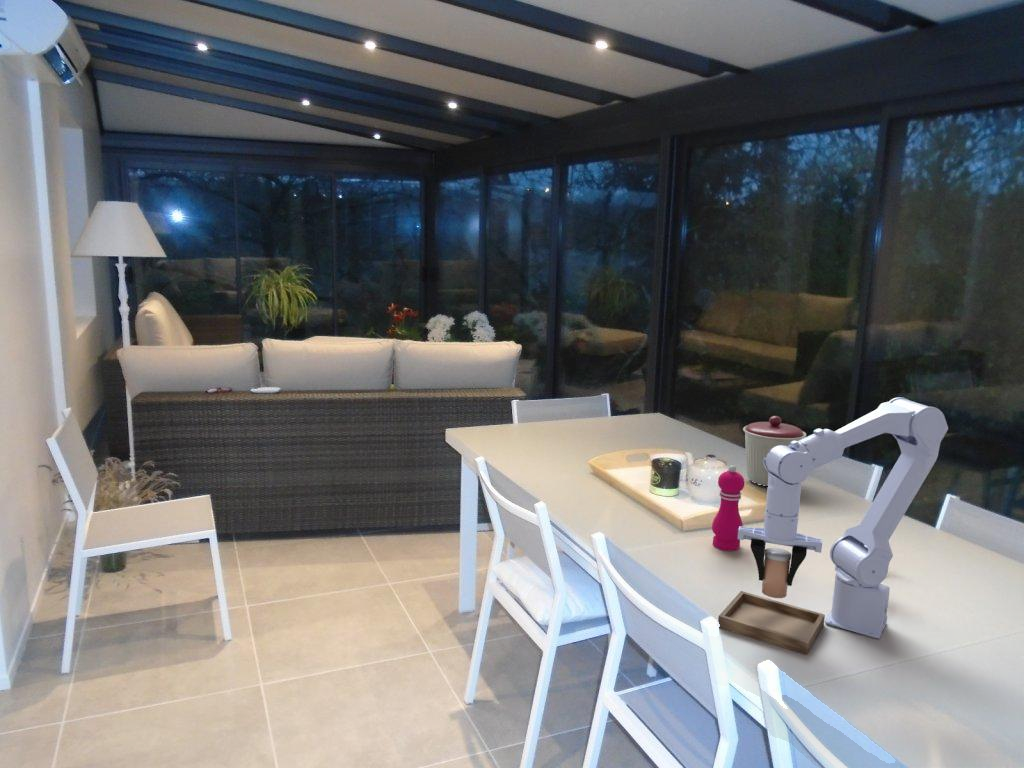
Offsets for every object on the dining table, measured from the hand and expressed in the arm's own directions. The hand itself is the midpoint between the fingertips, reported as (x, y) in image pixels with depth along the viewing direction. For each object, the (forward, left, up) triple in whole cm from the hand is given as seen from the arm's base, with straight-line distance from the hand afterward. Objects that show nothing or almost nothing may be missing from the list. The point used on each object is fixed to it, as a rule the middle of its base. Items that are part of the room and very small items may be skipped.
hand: (775, 581), depth 137 cm
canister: (+26, -90, -9) cm, 94 cm away
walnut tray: (0, 0, -9) cm, 9 cm away
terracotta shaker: (0, 0, -2) cm, 3 cm away
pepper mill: (+20, -33, -9) cm, 40 cm away
